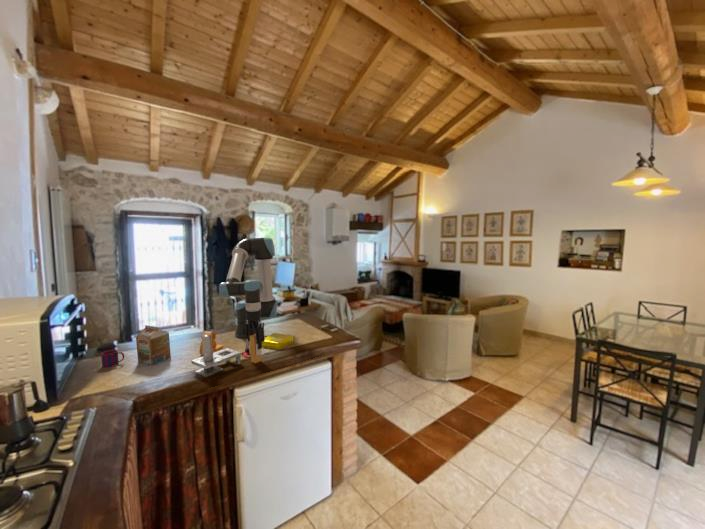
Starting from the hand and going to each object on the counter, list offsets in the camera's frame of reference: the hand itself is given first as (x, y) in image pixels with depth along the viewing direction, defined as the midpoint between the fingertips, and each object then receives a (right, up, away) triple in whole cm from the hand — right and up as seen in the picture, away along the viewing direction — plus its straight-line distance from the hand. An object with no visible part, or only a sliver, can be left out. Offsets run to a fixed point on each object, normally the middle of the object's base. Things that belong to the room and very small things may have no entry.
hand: (255, 353), depth 158 cm
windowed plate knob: (-17, -5, -7) cm, 19 cm away
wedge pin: (0, -4, 0) cm, 4 cm away
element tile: (+5, -2, +26) cm, 27 cm away
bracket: (-29, -4, +14) cm, 33 cm away
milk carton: (-55, -5, +4) cm, 56 cm away
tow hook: (-6, -4, +10) cm, 12 cm away
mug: (-74, -6, 0) cm, 74 cm away
